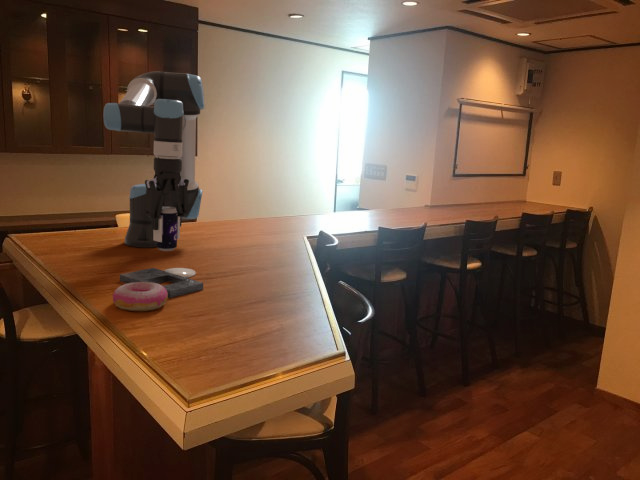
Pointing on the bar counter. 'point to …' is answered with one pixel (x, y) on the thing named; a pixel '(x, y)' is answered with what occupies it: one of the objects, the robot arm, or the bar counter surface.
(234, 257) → the bar counter surface
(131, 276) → the grey board with hole
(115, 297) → the donut
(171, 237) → the beverage can
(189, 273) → the coaster
